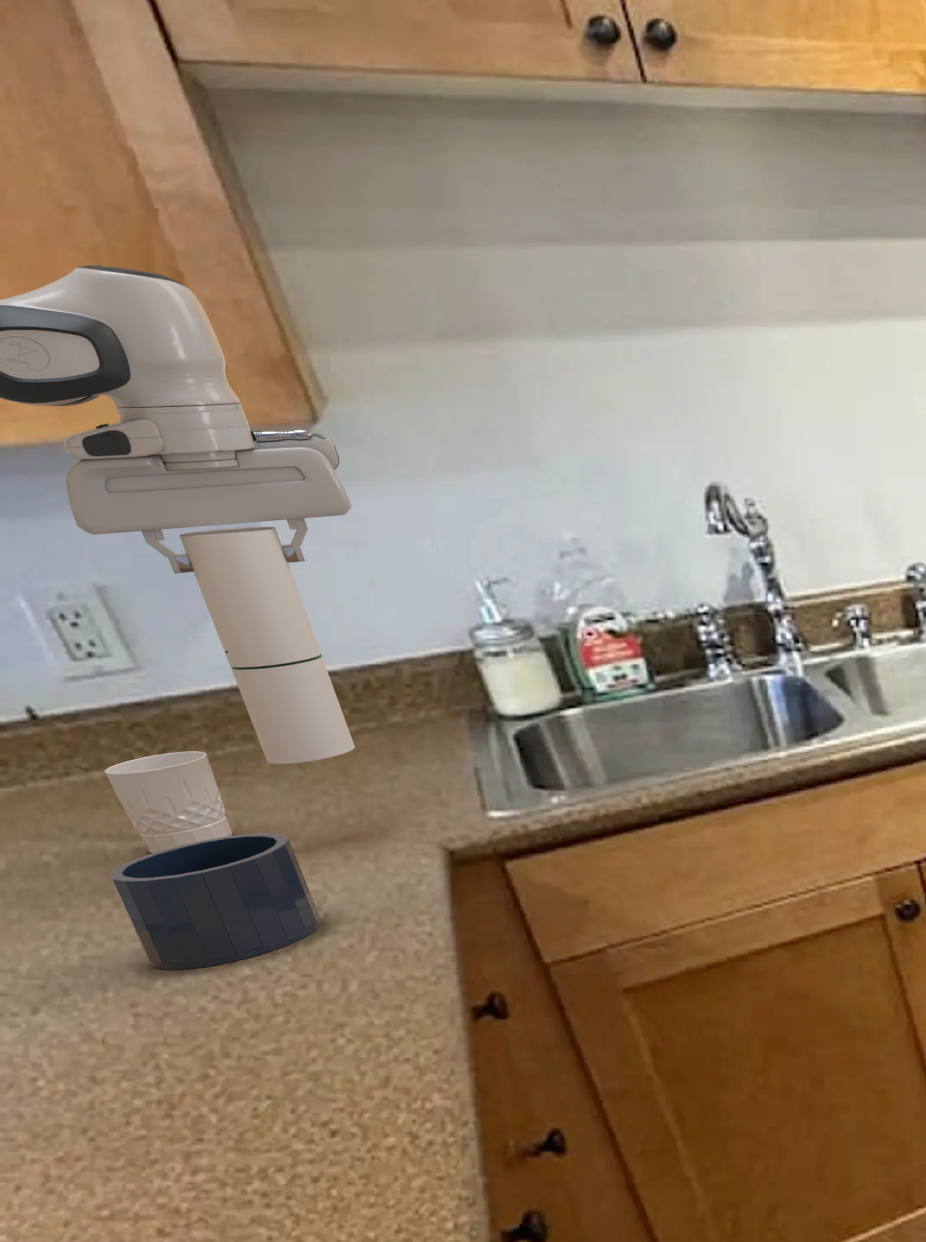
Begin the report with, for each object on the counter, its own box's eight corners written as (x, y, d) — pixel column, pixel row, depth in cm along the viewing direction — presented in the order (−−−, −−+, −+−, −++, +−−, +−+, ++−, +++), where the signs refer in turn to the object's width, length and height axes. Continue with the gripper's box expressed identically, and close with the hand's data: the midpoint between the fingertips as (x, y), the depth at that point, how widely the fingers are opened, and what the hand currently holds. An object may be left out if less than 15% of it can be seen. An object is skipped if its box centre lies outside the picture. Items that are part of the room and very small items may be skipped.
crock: (112, 971, 121) (70, 882, 118) (237, 917, 132) (202, 834, 129) (239, 968, 121) (200, 879, 118) (354, 914, 132) (321, 831, 129)
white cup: (165, 860, 147) (129, 776, 143) (125, 852, 149) (87, 769, 146) (255, 835, 154) (222, 754, 150) (215, 827, 156) (181, 748, 153)
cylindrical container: (345, 741, 152) (267, 524, 144) (362, 751, 149) (282, 529, 140) (260, 757, 147) (173, 533, 139) (275, 768, 143) (186, 538, 135)
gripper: (327, 426, 145) (369, 551, 150) (45, 439, 131) (102, 576, 136) (330, 429, 141) (374, 557, 146) (40, 442, 127) (98, 583, 132)
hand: (240, 567), depth 141 cm, fingers closed on cylindrical container, 7 cm apart
